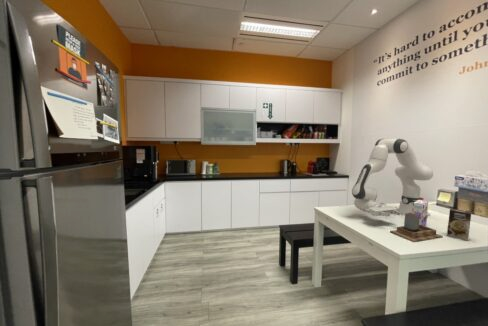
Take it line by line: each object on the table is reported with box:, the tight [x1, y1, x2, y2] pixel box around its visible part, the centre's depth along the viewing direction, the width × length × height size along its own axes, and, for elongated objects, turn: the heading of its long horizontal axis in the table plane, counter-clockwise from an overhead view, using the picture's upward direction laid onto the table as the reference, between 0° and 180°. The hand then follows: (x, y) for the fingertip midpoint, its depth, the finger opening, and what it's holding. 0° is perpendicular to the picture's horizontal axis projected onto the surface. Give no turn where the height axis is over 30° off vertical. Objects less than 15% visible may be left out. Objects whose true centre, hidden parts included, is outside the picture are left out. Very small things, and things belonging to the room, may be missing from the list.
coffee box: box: [446, 208, 472, 241], centre depth 127 cm, size 9×6×16 cm
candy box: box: [413, 200, 429, 226], centre depth 146 cm, size 14×6×16 cm, turn 129°
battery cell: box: [403, 212, 420, 232], centre depth 128 cm, size 5×5×13 cm
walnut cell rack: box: [389, 224, 444, 243], centre depth 130 cm, size 24×14×4 cm, turn 108°
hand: (394, 214), depth 138 cm, fingers open, 8 cm apart
